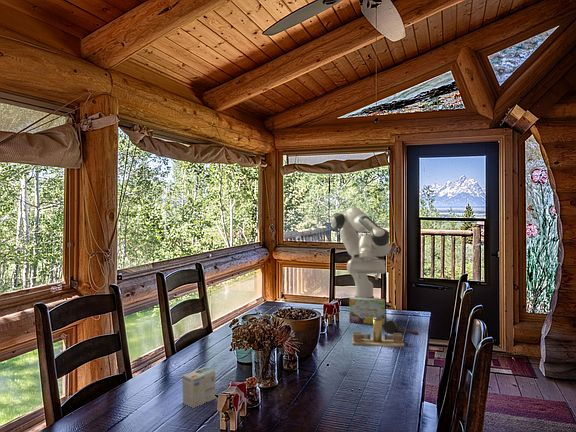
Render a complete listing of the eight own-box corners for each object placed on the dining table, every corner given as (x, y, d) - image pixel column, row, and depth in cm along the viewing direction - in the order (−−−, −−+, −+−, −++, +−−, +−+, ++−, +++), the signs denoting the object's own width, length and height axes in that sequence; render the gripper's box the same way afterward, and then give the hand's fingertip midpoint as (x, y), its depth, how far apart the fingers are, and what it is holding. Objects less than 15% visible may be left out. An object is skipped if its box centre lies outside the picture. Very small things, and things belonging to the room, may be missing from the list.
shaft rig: (352, 338, 232) (352, 330, 232) (401, 340, 229) (401, 331, 229) (352, 344, 222) (352, 336, 222) (404, 346, 219) (404, 337, 219)
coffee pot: (381, 331, 244) (388, 330, 251) (412, 341, 233) (417, 340, 240) (384, 318, 245) (390, 317, 251) (414, 328, 234) (420, 326, 240)
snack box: (349, 322, 265) (349, 298, 265) (350, 320, 271) (350, 296, 270) (384, 325, 259) (384, 300, 259) (385, 322, 264) (385, 298, 264)
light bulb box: (204, 394, 165) (204, 366, 165) (216, 398, 161) (216, 370, 161) (181, 404, 157) (181, 374, 157) (193, 409, 153) (193, 379, 152)
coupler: (372, 339, 228) (372, 316, 228) (381, 339, 228) (381, 316, 228) (373, 342, 224) (373, 318, 224) (382, 342, 223) (382, 319, 223)
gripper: (384, 262, 249) (386, 282, 240) (349, 262, 252) (349, 281, 242) (385, 255, 245) (387, 275, 235) (349, 255, 247) (349, 275, 238)
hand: (367, 278), depth 239 cm, fingers open, 8 cm apart
